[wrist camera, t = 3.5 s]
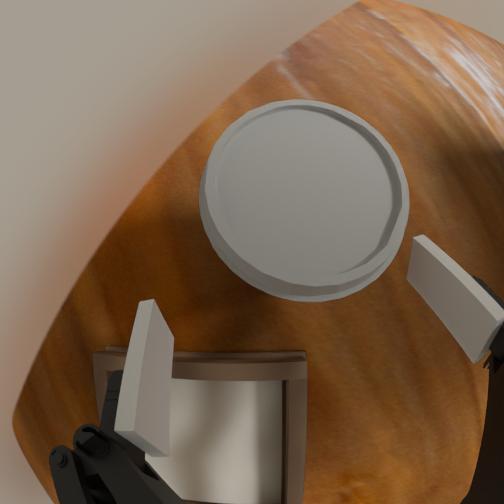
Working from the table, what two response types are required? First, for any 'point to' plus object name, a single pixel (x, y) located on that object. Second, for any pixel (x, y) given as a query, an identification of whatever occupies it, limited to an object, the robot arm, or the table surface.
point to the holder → (229, 424)
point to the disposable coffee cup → (304, 200)
